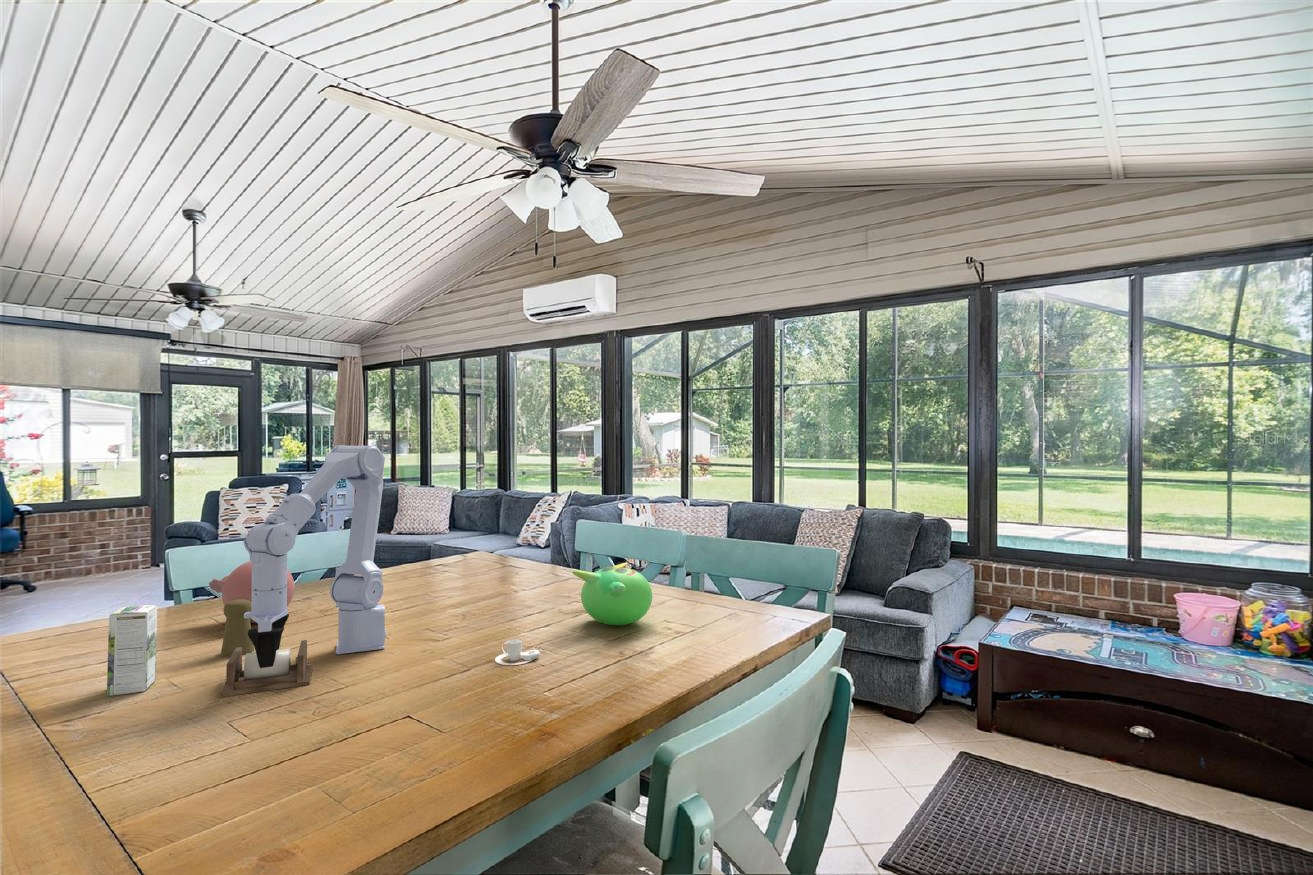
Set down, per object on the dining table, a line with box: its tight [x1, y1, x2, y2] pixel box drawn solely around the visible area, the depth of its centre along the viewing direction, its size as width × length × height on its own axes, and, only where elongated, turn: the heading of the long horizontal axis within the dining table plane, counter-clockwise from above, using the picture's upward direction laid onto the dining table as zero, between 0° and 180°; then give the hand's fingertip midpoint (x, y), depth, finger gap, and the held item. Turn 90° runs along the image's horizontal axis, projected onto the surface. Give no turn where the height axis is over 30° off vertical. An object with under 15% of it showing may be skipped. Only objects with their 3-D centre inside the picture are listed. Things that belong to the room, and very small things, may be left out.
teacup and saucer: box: [494, 638, 541, 666], centre depth 135 cm, size 9×8×4 cm
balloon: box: [208, 560, 296, 624], centre depth 162 cm, size 15×20×15 cm
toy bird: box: [571, 562, 653, 626], centre depth 161 cm, size 18×17×15 cm
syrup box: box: [106, 604, 158, 697], centre depth 118 cm, size 6×6×14 cm
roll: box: [243, 648, 292, 681], centre depth 122 cm, size 7×5×5 cm
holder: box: [219, 639, 314, 698], centre depth 122 cm, size 14×10×6 cm
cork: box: [220, 599, 255, 658], centre depth 139 cm, size 6×6×11 cm
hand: (269, 660), depth 122 cm, fingers open, 7 cm apart
